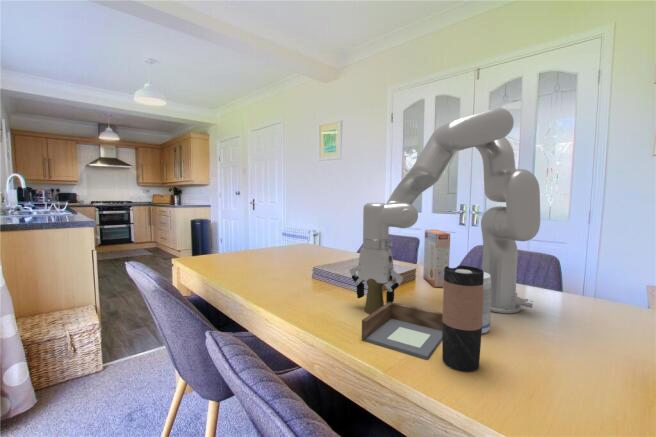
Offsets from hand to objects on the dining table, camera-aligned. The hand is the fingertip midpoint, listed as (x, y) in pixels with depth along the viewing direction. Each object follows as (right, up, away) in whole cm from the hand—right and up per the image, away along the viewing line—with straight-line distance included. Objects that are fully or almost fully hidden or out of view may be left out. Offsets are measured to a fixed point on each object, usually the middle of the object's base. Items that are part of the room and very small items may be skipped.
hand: (374, 300), depth 95 cm
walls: (+5, -5, -17) cm, 18 cm away
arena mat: (+5, -5, -17) cm, 18 cm away
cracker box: (+29, -1, +31) cm, 43 cm away
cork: (0, -4, 0) cm, 4 cm away
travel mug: (+14, -6, -29) cm, 32 cm away
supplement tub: (+24, -5, -11) cm, 27 cm away
